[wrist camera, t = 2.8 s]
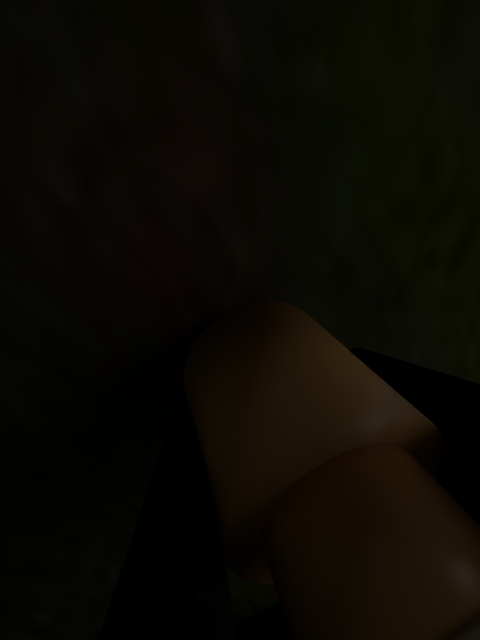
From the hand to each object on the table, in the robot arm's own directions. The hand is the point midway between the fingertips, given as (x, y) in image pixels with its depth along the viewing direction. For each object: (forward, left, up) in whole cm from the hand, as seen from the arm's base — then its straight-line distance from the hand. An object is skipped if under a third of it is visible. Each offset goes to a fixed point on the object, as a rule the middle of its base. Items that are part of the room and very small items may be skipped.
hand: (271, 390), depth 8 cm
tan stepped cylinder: (0, 0, -1) cm, 1 cm away
